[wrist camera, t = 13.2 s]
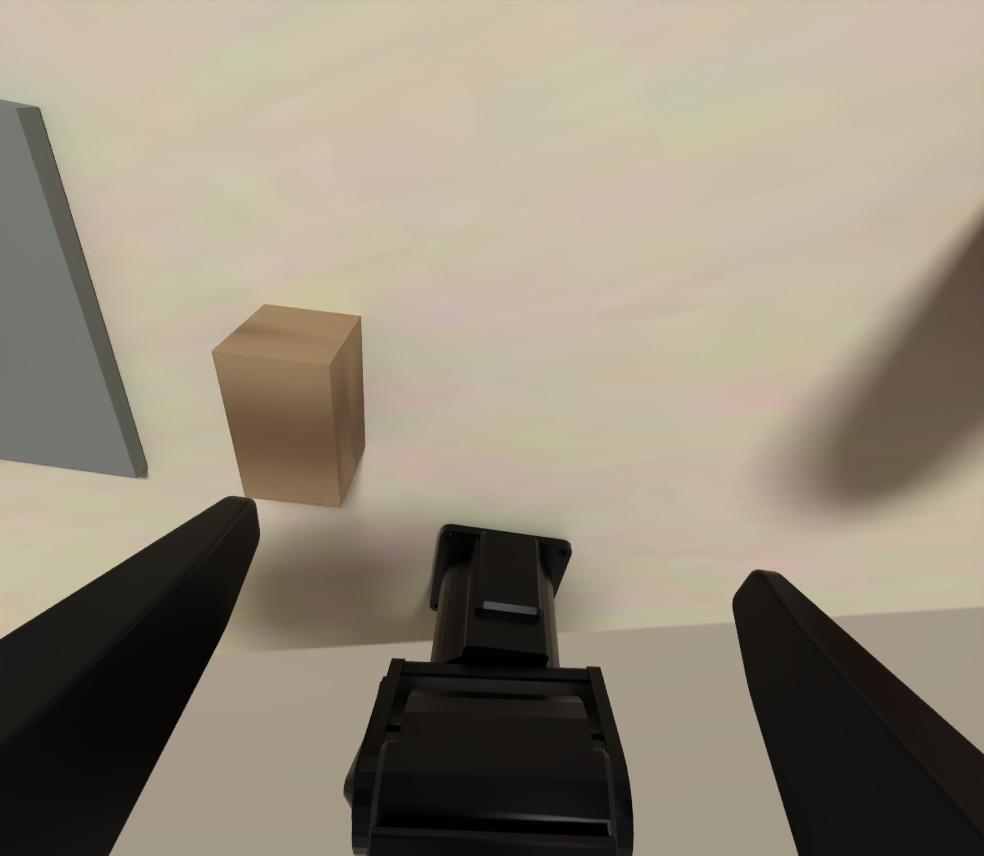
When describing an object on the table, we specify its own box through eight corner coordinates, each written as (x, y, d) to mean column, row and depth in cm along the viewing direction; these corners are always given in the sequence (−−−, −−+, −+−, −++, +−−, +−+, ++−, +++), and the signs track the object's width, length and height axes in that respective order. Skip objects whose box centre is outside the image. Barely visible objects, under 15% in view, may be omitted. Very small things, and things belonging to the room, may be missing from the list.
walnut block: (366, 443, 22) (340, 507, 18) (285, 434, 21) (245, 497, 18) (361, 315, 18) (329, 365, 15) (266, 303, 18) (211, 351, 15)
